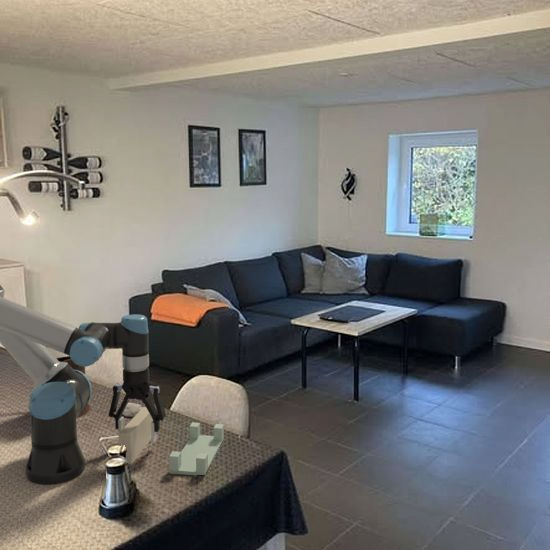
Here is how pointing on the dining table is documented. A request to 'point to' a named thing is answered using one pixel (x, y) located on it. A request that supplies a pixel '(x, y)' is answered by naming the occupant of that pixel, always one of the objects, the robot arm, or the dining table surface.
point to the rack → (196, 452)
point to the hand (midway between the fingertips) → (137, 440)
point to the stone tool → (131, 409)
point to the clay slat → (136, 434)
